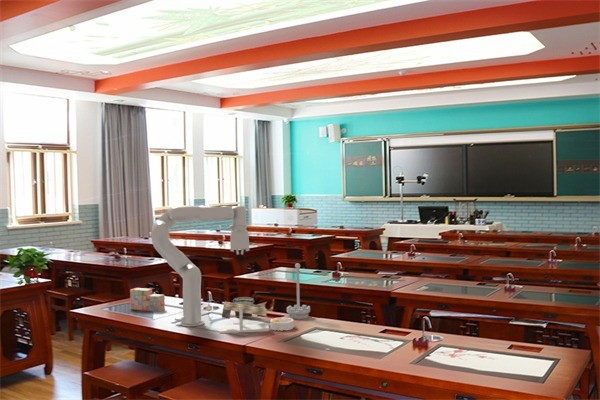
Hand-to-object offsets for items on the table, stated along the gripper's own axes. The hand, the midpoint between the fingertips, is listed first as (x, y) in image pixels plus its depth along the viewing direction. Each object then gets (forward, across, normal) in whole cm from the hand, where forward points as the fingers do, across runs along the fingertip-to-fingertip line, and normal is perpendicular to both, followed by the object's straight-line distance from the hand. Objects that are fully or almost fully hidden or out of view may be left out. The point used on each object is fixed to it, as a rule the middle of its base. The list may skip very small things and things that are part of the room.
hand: (240, 261), depth 322 cm
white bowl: (+32, +21, -22) cm, 44 cm away
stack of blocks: (+32, -56, +37) cm, 74 cm away
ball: (+30, +18, -22) cm, 41 cm away
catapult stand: (+32, +1, -22) cm, 39 cm away
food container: (+32, +2, +10) cm, 34 cm away
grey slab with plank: (+27, +1, -16) cm, 32 cm away
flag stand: (+32, +32, +2) cm, 46 cm away
